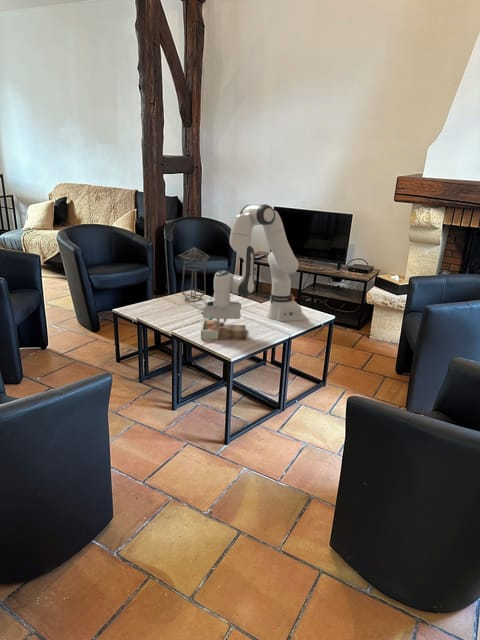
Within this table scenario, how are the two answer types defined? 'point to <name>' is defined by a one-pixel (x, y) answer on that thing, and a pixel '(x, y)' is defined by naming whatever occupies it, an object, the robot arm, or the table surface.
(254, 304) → the table surface
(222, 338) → the brown wooden board
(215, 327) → the tile
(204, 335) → the tray
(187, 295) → the geometric lantern
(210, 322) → the light brown wooden block
